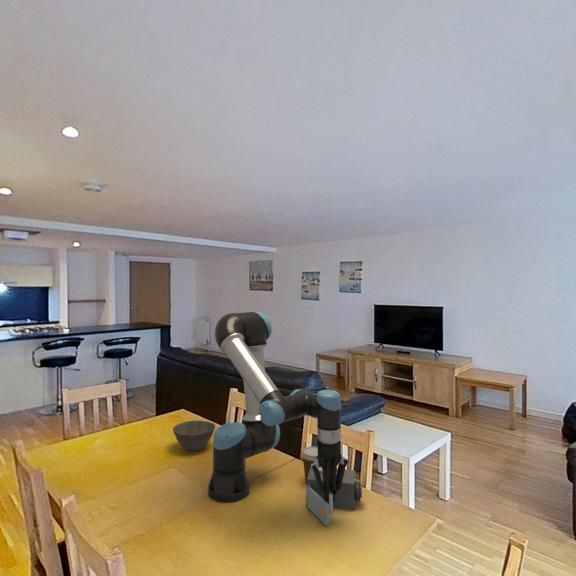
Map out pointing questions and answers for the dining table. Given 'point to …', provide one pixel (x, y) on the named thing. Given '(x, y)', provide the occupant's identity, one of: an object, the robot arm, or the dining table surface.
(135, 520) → the dining table surface
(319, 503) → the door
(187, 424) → the bowl
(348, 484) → the camera block
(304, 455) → the disposable coffee cup
